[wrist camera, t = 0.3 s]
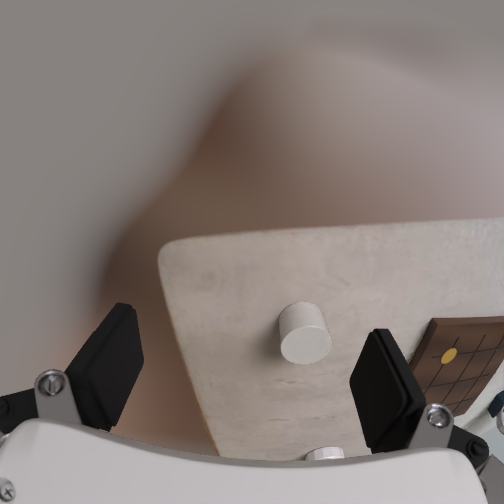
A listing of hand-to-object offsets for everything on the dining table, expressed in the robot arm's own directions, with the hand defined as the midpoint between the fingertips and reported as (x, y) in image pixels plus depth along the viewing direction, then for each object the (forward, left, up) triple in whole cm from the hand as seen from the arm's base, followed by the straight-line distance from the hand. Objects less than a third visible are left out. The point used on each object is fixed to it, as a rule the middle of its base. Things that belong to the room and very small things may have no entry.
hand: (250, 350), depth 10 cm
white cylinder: (+8, +5, -14) cm, 18 cm away
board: (+18, +32, -14) cm, 40 cm away
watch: (+30, +58, -15) cm, 67 cm away
